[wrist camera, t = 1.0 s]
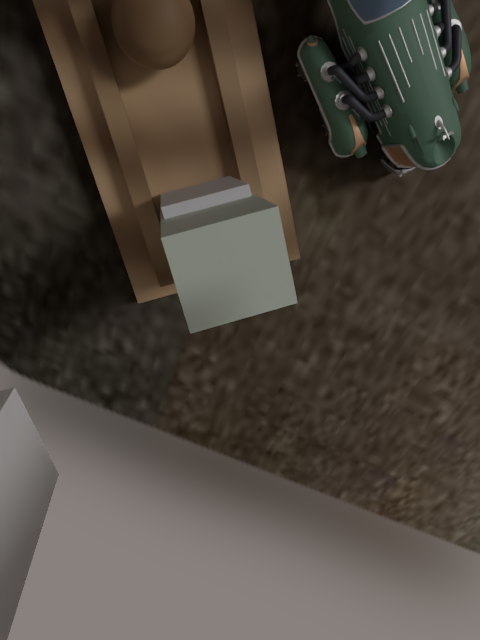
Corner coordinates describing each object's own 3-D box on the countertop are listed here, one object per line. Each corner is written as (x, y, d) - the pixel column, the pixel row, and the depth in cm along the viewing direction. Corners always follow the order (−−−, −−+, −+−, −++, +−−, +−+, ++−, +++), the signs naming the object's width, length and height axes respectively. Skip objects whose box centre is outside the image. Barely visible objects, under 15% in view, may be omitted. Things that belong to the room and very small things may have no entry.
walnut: (104, -4, 25) (93, -33, 21) (180, -21, 25) (184, -53, 21) (129, 83, 27) (124, 72, 23) (200, 65, 27) (208, 51, 23)
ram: (157, 194, 29) (156, 223, 18) (231, 174, 29) (275, 191, 18) (179, 267, 31) (190, 333, 20) (248, 247, 31) (297, 302, 20)
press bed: (25, -30, 25) (-24, -94, 18) (232, -76, 26) (257, -154, 19) (139, 298, 33) (133, 336, 26) (295, 254, 33) (329, 281, 27)
